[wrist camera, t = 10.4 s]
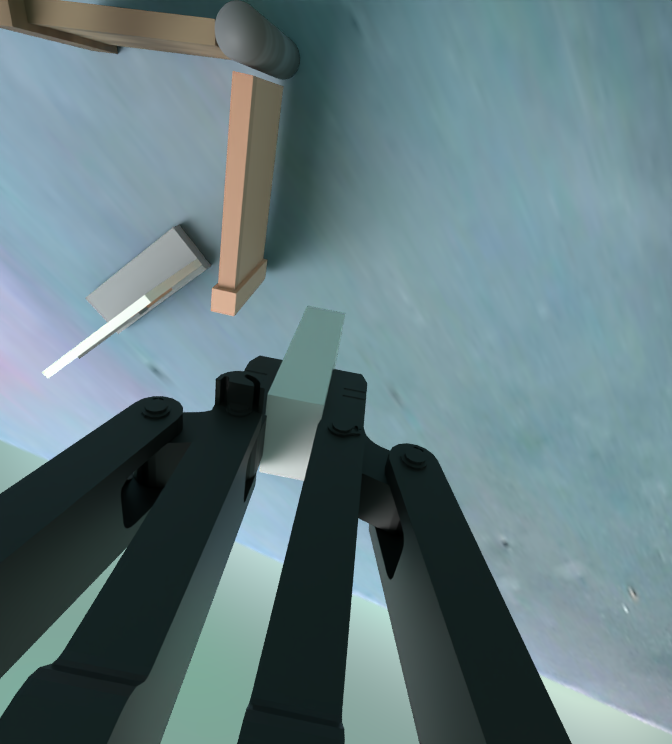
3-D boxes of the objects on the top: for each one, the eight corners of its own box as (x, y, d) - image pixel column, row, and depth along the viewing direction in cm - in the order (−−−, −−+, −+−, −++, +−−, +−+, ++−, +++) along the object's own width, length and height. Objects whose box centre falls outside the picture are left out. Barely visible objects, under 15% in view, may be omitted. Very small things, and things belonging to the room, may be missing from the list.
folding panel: (265, 82, 31) (225, 69, 23) (288, 87, 31) (255, 76, 23) (246, 274, 37) (210, 310, 30) (265, 278, 37) (234, 316, 30)
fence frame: (93, 55, 32) (-20, 29, 23) (87, 13, 30) (-34, -32, 22) (298, 81, 31) (262, 64, 22) (301, 38, 30) (264, 3, 21)
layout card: (125, 328, 42) (53, 383, 33) (93, 293, 40) (9, 341, 32) (211, 265, 38) (156, 308, 29) (179, 224, 37) (111, 256, 28)
